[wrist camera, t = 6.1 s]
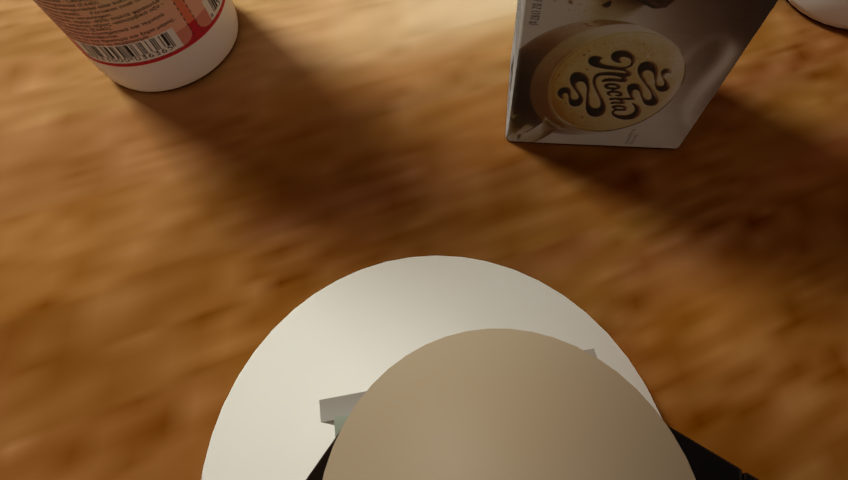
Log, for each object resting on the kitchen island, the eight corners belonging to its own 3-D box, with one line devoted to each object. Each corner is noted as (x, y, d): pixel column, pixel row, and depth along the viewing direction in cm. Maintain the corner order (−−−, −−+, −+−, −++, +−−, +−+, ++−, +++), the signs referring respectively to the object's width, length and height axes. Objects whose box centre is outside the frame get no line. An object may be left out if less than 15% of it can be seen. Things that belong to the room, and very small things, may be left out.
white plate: (719, 811, 14) (746, 849, 13) (165, 760, 16) (137, 789, 14) (629, 267, 22) (640, 255, 20) (259, 267, 23) (246, 255, 22)
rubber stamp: (628, 523, 13) (1256, 783, 3) (350, 576, 13) (-83, 1039, 3) (578, 361, 15) (833, 151, 5) (336, 406, 15) (54, 298, 5)
